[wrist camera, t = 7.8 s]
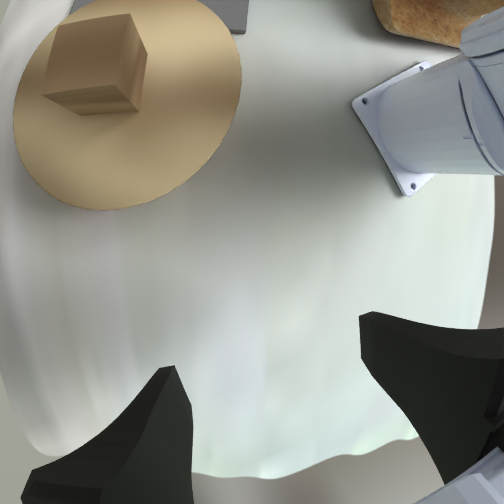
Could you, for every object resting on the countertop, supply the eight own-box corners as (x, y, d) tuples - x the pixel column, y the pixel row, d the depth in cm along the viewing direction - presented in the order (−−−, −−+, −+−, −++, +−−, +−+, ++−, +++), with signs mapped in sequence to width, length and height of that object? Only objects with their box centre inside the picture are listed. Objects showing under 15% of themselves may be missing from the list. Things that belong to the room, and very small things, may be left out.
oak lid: (45, 14, 10) (11, -22, 5) (247, -3, 12) (262, -57, 7) (13, 210, 12) (-43, 222, 8) (231, 211, 14) (243, 223, 10)
